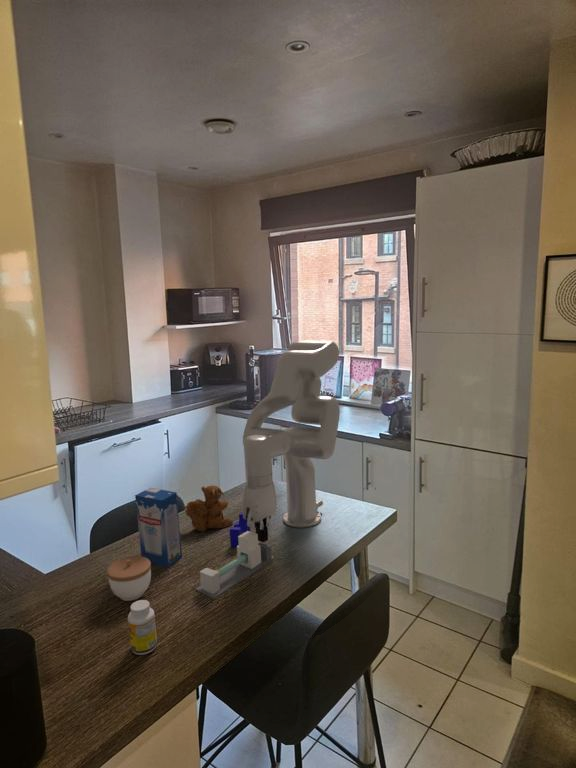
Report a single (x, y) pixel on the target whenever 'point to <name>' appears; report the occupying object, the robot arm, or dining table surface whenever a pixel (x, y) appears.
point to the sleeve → (249, 549)
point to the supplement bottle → (142, 628)
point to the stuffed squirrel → (208, 510)
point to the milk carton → (159, 526)
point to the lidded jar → (129, 577)
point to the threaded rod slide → (230, 573)
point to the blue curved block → (238, 530)
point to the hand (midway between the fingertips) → (262, 540)
